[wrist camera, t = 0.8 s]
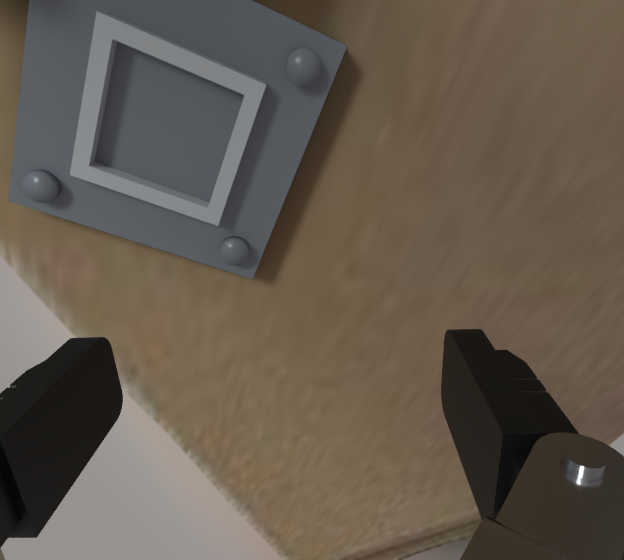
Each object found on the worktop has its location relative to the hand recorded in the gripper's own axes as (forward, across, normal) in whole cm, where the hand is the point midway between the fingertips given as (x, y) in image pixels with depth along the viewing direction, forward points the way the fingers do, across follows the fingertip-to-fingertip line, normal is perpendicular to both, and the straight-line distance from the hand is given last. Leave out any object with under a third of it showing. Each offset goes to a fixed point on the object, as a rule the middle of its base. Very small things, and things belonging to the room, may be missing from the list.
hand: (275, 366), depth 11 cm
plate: (+22, +9, -5) cm, 24 cm away
